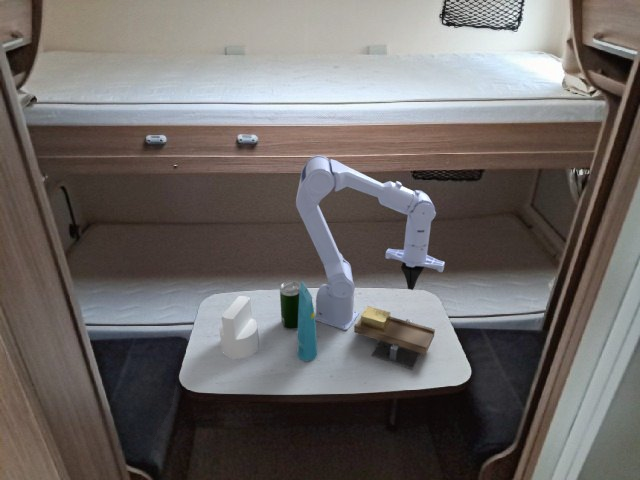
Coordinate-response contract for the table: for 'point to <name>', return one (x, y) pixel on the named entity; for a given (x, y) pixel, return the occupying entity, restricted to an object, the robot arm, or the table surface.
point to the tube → (306, 326)
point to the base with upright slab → (239, 330)
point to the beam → (401, 334)
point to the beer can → (289, 304)
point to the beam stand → (396, 354)
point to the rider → (375, 318)
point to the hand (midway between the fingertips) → (411, 287)
